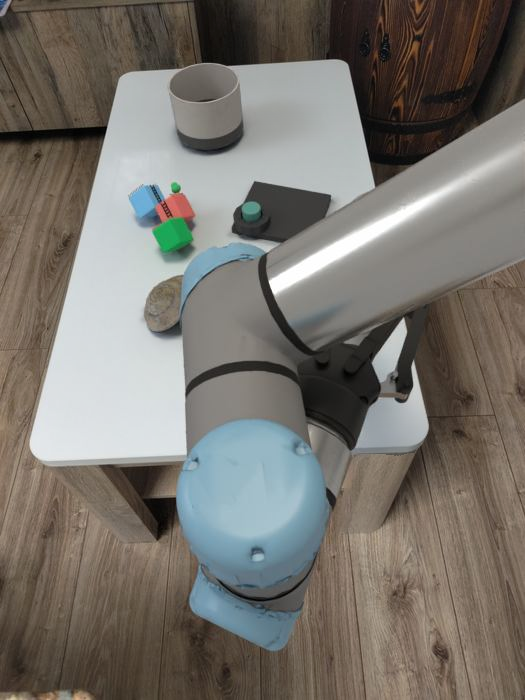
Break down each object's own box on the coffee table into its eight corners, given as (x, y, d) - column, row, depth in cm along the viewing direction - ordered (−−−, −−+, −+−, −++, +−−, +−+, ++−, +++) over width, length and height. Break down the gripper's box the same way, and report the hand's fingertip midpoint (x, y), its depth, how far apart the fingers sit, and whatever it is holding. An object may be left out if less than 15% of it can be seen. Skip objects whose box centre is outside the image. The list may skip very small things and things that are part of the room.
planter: (215, 107, 103) (208, 55, 94) (257, 134, 97) (254, 81, 88) (165, 135, 98) (153, 83, 90) (206, 165, 93) (197, 112, 84)
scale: (331, 200, 86) (332, 186, 84) (311, 253, 80) (312, 240, 78) (254, 186, 89) (253, 172, 87) (229, 236, 83) (228, 223, 80)
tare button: (263, 211, 82) (262, 203, 80) (257, 224, 80) (257, 215, 79) (246, 208, 83) (245, 199, 81) (240, 220, 81) (239, 212, 80)
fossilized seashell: (174, 266, 77) (173, 248, 71) (230, 305, 77) (234, 291, 71) (132, 320, 75) (126, 306, 68) (190, 360, 75) (190, 351, 68)
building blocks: (174, 257, 87) (141, 194, 86) (208, 236, 83) (174, 169, 82) (146, 265, 80) (110, 197, 79) (182, 242, 76) (144, 169, 75)
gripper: (219, 418, 47) (305, 246, 58) (407, 489, 42) (462, 288, 53) (207, 379, 40) (307, 194, 51) (428, 458, 36) (485, 237, 47)
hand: (386, 242), depth 52 cm, fingers closed on chalice, 5 cm apart
